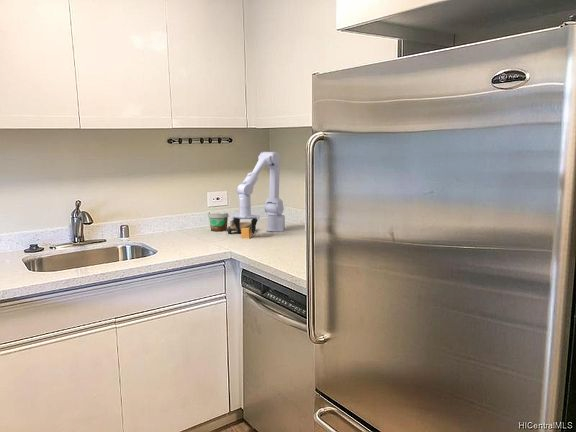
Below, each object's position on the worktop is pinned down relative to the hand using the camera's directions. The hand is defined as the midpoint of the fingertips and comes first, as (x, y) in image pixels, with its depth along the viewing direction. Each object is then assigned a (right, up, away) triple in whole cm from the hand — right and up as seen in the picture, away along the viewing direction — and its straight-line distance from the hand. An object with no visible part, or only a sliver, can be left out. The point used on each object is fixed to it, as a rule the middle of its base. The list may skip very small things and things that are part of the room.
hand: (245, 232), depth 240 cm
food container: (-18, 0, +19) cm, 26 cm away
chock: (0, -2, +3) cm, 3 cm away
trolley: (-4, 0, +14) cm, 15 cm away
